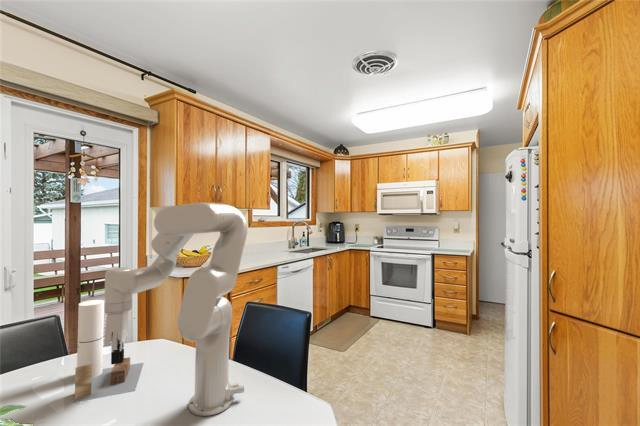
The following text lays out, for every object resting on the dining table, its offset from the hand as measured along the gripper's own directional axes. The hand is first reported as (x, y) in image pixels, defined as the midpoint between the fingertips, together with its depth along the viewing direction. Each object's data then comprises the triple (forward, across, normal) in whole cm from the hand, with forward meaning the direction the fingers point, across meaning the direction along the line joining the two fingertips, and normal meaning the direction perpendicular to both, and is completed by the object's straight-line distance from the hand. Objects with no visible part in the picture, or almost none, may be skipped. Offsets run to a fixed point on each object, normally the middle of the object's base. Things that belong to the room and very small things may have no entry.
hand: (117, 362), depth 98 cm
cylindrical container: (+8, -12, -10) cm, 18 cm away
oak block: (+8, +1, -9) cm, 12 cm away
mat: (+8, -5, -2) cm, 10 cm away
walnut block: (+6, -2, 0) cm, 6 cm away
